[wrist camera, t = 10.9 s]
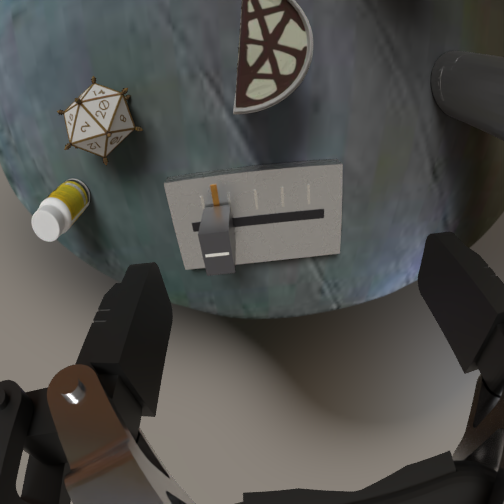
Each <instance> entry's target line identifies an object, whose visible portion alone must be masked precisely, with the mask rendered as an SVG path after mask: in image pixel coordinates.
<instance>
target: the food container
mask: <svg viewBox="0 0 504 504" xmlns="http://www.w3.org/2000/svg"><path fill="white" fill-rule="evenodd" d="M238 49H239V50H238V63H237V79H236V80H237V81H236V93H235V102H234V110H233V114H248V113H253V112H258V111H261V110H264V109H267V108H269V107H272V106H274V105H276V104H278V103H279V102H281V101H282V100H284V99H285V98H287V97H288V96H289V95H290V94H291V93H292V92H293V91H295V90H296V88H297V87H298V86H299V85H300V83H301V82H302V81H303V79H304V77H305V75H306V74H307V72H308V69H309V67H310V64H311V60H312V55H313V36H312V30H311V27H310V24H309V21H308V19H307V17H306V15H305V14H304V12H303V10H302V9H301V7H300V6H299V5H298V4H297V3H296V1H295V0H242V7H241V22H240V36H239V47H238Z"/></svg>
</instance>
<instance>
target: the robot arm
mask: <svg viewBox="0 0 504 504" xmlns="http://www.w3.org/2000/svg"><path fill="white" fill-rule="evenodd" d="M431 87H432V92H433V96H434V98H435V100H436V103H437V104H438V106H439V107H440V109H441V110H442V111H443V112H444V113H445V114H447V115H449V116H450V117H452V118H455V119H457V120H460V121H462V122H464V123H467V124H469V125H471V126H473V127H475V128H478V129H480V130H482V131H484V132H486V133H488V134H491V135H493V136H495V137H497V138H499V139H501V140H503V141H504V57H499V56H493V55H486V54H479V53H472V52H462V51H449V52H446V53H444V54H443V55H441V56H440V57H439V58H438V60H437V61H436V63H435V65H434V67H433V70H432V74H431ZM418 286H419V290H420V293H421V295H422V297H423V299H424V300H425V302H426V304H427V305H428V307H429V309H430V310H431V312H432V314H433V316H434V317H435V319H436V321H437V323H438V324H439V326H440V328H441V330H442V331H443V333H444V335H445V337H446V338H447V340H448V342H449V344H450V346H451V348H452V350H453V352H454V354H455V355H456V358H457V359H458V362H459V364H460V365H461V367H462V369H463V371H464V373H468V372H471V371H474V370H477V369H479V370H480V373H481V374H480V376H479V377H478V379H477V383H476V388H475V393H474V397H473V402H472V407H471V411H470V415H469V419H468V423H467V427H466V431H465V434H464V436H463V438H462V440H461V442H460V444H459V445H458V447H457V448H456V450H455V452H454V454H453V456H451V453H450V451H448V452H445V453H442V454H440V455H437V456H434V457H432V458H429V459H426V460H423V461H420V462H417V463H414V464H410V465H407V466H405V467H403V468H402V469H400V470H398V471H396V472H395V473H393V474H391V475H389V476H387V477H386V478H384V479H382V480H380V481H378V482H376V483H374V484H372V485H371V486H368V487H366V488H364V489H362V490H359V491H354V492H344V491H323V490H310V489H299V488H298V489H290V490H281V491H268V492H252V493H243V502H240V503H236V504H504V284H503V282H502V281H501V280H500V279H499V277H498V276H495V273H494V271H493V270H492V269H491V268H490V267H489V268H488V264H487V263H486V262H485V261H484V260H483V259H482V258H481V256H480V255H478V254H477V253H475V252H474V251H472V250H471V249H470V248H468V247H466V246H465V245H464V244H463V243H462V242H461V240H460V239H459V238H458V237H457V236H456V235H455V234H454V233H452V232H443V233H434V234H430V235H429V236H428V237H427V239H426V243H425V248H424V252H423V257H422V262H421V266H420V270H419V274H418ZM98 309H99V311H98V312H97V313H96V315H95V318H94V323H92V325H91V327H90V329H89V332H88V334H87V337H86V339H85V342H84V344H83V346H82V349H81V351H80V354H79V356H78V359H77V362H76V364H75V365H71V366H68V367H66V368H64V369H62V370H60V371H59V372H58V373H57V374H56V375H55V376H54V377H53V379H52V380H51V382H50V384H49V386H48V388H43V389H39V390H34V391H30V392H24V391H23V390H22V389H21V388H20V386H19V385H18V384H17V383H15V382H14V381H11V380H5V381H2V382H0V504H70V502H71V501H72V502H73V504H195V503H194V501H193V500H192V499H191V498H190V497H189V496H188V494H187V493H186V492H185V491H184V490H183V489H182V488H181V487H180V486H179V485H178V484H177V482H176V481H175V480H174V478H173V477H172V476H171V474H170V473H169V472H168V470H167V469H166V467H165V466H164V464H163V463H162V461H161V460H160V459H159V457H158V456H157V454H156V453H155V451H154V450H153V448H152V447H151V445H150V443H149V442H148V440H147V439H146V437H145V435H144V434H143V432H142V431H141V429H140V428H139V426H140V420H141V416H151V417H155V415H156V409H157V403H158V397H159V391H160V385H161V379H162V374H163V368H164V363H165V356H166V352H167V346H168V341H169V336H170V331H171V326H172V317H173V316H172V307H171V302H170V299H169V297H168V294H167V291H166V288H165V285H164V282H163V279H162V276H161V273H160V270H159V267H158V265H157V264H156V263H155V262H152V263H143V264H133V265H130V266H129V267H128V269H127V271H126V274H125V276H124V278H123V280H122V283H116V284H115V285H114V286H113V287H112V288H111V289H110V290H109V291H108V292H107V293H106V294H105V295H104V297H103V299H102V302H101V304H100V306H99V308H98ZM23 450H24V451H25V452H27V453H28V454H30V455H29V459H28V464H27V469H26V474H25V479H24V484H23V490H22V495H21V497H19V495H18V493H17V491H16V479H17V474H18V469H19V465H20V460H21V456H22V452H23Z"/></svg>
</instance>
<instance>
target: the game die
mask: <svg viewBox="0 0 504 504" xmlns="http://www.w3.org/2000/svg"><path fill="white" fill-rule="evenodd" d="M91 80H92V81H91V82H92V83H93V84H92V85H91V86H90V87H89V88H88V89H86V90H85V91H84V92H83V93H82V94H81V95H80V96H79V97H78V98H75V101H74V102H73V103H72V104H71V105H70V106H69V107H68V108H67V109H66V110H65V111H63V110H59V111H57V112H58V113H59V115H60V114H61V115H62V114H64V118H65V123H66V128H67V133H68V138H69V142H70V143H69V144H67V145H65V149H64V150H68V149H69V148H70V147H71V145H72V146H74V147H75V148H80V149H82V150H85V151H88V152H90V153H93V154H95V155H98V156H101V157H103V163H104V164H105V165H106V166H107V163H108V160H107V158H106V157H107V156H108V155H109V154H110V153H111V152H112V151H113V150H114V149H115V148H116V147H117V146H118V145H119V144H120V143H121V142H122V141H123V140H124V139H125V138H126V137H127V136H128V135H129V134H130V133H131V132H132V131H133V130H137V131H142V128H141V127H135V124H134V121H133V118H132V116H131V113H130V110H129V107H128V104H127V101H126V100H128V99H130V95H126V96H124V94H126V93H127V91H128V88H123V90H122V92H119V91H116V90H113V89H111V88H108V87H105V86H102V85H99V84H96V78H95V77H94V76H93V77H92V79H91Z"/></svg>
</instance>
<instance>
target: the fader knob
mask: <svg viewBox="0 0 504 504" xmlns="http://www.w3.org/2000/svg"><path fill="white" fill-rule="evenodd" d="M198 238H199V242H200V247H201V251H202V256H203V260H204V264H205V269H206V273H207V276H209V275H219V274H229V273H235V265H236V240H235V234H234V227H233V220H232V214H231V207H230V205H224V206H216V207H208V208H204V210H203V214H202V218H201V223H200V227H199V232H198Z"/></svg>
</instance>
